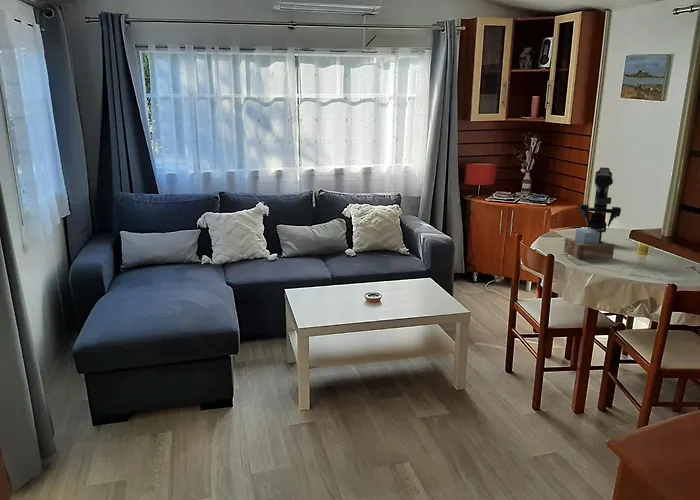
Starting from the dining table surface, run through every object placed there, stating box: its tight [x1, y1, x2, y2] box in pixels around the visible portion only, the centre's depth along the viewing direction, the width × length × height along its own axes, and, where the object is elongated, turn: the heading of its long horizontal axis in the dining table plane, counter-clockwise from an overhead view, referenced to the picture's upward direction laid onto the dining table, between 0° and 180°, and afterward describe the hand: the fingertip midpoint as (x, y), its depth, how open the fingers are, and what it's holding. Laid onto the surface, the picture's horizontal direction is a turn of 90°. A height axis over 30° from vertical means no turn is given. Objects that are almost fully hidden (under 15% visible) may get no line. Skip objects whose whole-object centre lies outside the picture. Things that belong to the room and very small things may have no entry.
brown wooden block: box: [563, 237, 615, 260], centre depth 280 cm, size 14×18×7 cm
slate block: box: [574, 228, 600, 244], centre depth 281 cm, size 8×8×12 cm
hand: (598, 226), depth 278 cm, fingers open, 9 cm apart
